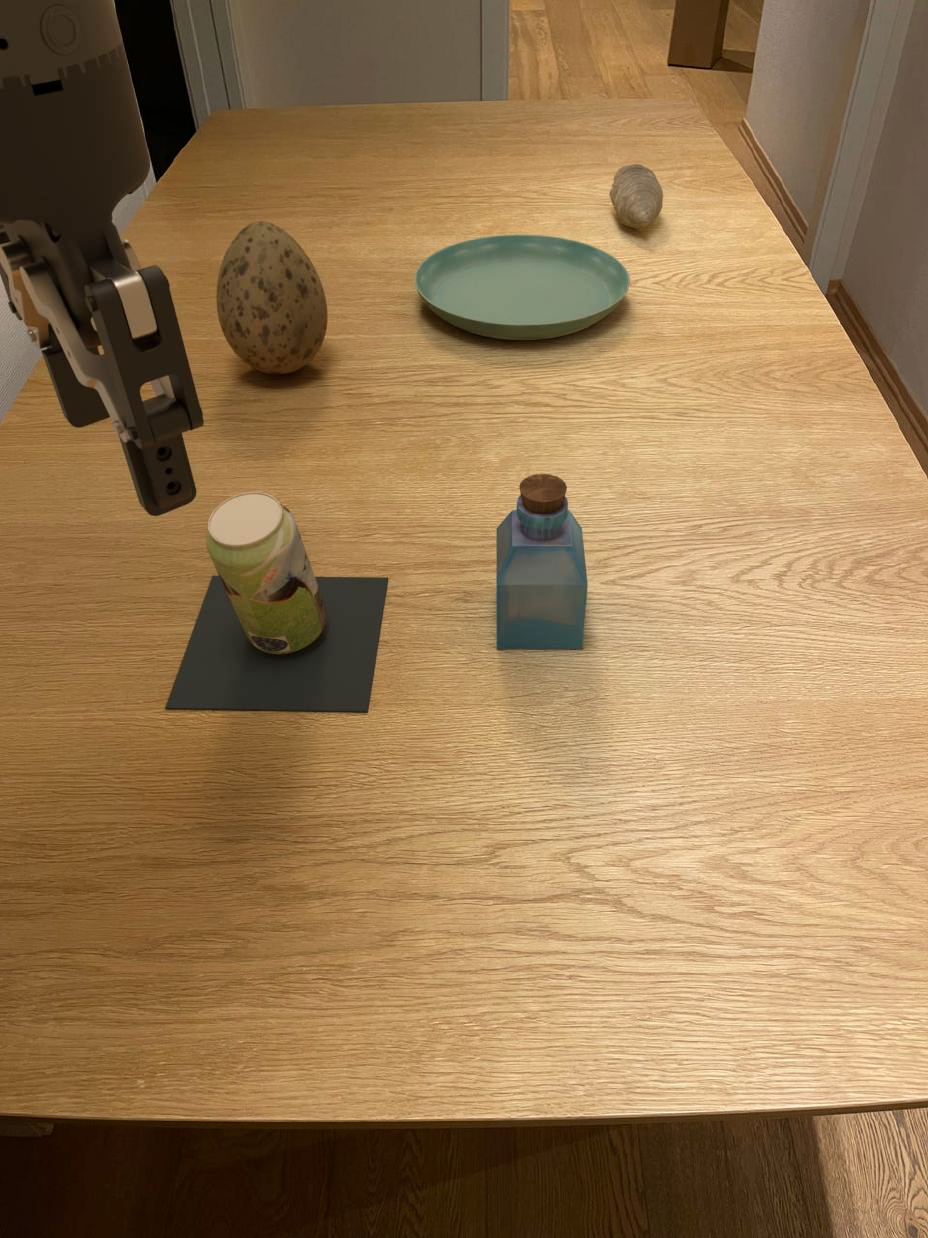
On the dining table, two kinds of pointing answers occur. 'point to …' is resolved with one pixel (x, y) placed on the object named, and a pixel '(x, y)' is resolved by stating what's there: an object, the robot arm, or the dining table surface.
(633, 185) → the seashell
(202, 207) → the dining table surface
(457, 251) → the saucer
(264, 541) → the beverage can
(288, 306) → the decorative egg
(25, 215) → the robot arm
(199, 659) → the mat
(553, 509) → the perfume bottle
